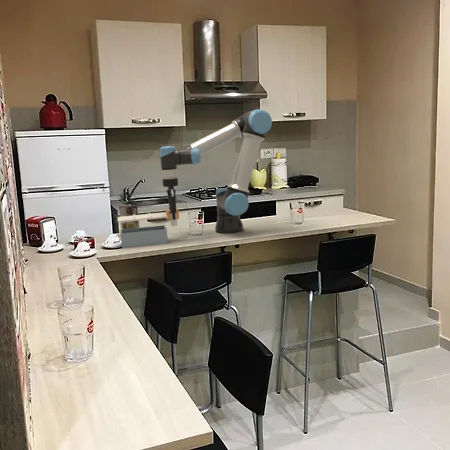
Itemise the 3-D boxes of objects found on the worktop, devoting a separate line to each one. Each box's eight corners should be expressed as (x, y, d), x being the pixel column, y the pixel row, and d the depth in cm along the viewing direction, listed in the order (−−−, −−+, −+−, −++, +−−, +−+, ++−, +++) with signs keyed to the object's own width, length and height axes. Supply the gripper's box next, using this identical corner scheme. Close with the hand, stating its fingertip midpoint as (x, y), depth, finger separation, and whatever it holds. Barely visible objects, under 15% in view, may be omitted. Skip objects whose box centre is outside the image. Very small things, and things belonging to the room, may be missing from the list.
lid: (177, 216, 264) (176, 207, 263) (180, 220, 252) (179, 211, 251) (118, 222, 259) (117, 213, 258) (118, 226, 246) (117, 217, 245)
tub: (166, 240, 264) (164, 225, 263) (168, 245, 253) (166, 229, 251) (122, 245, 260) (120, 229, 259) (122, 250, 249) (120, 233, 247)
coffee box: (137, 232, 292) (135, 204, 289) (140, 234, 286) (137, 205, 283) (121, 234, 289) (118, 206, 286) (123, 236, 283) (120, 207, 280)
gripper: (160, 177, 261) (165, 223, 265) (163, 180, 245) (168, 228, 249) (175, 176, 262) (179, 221, 267) (179, 178, 246) (183, 227, 251)
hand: (174, 225), depth 258 cm, fingers closed on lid, 3 cm apart
